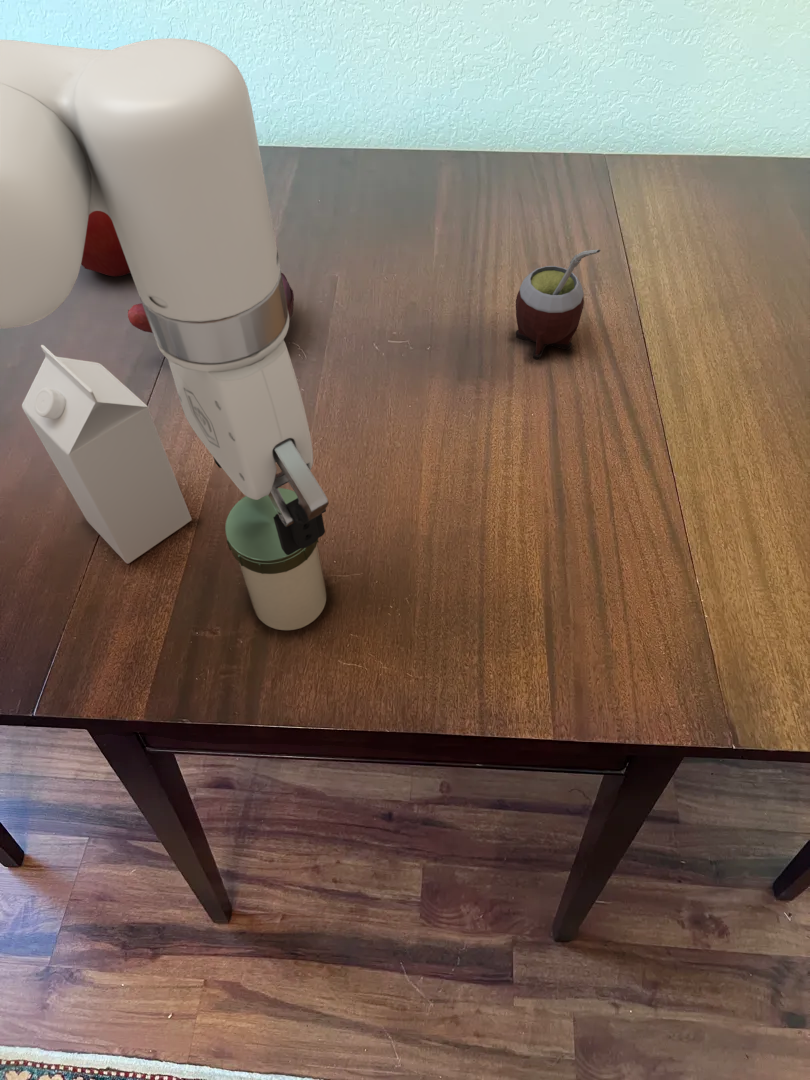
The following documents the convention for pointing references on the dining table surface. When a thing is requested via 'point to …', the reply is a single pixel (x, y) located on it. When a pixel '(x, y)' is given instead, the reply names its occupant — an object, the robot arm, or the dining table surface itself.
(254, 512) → the jar lid
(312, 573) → the jar
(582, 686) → the dining table surface
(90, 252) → the apple
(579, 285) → the mate gourd
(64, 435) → the milk carton
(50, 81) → the robot arm
